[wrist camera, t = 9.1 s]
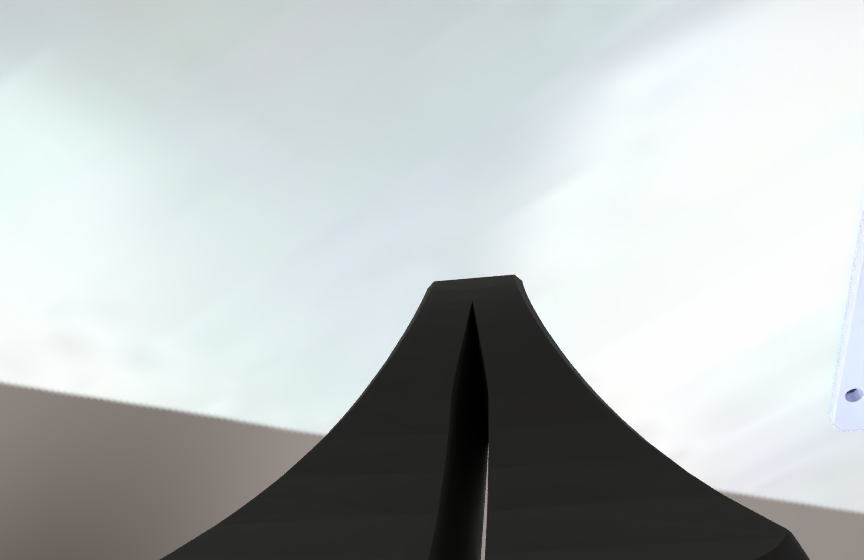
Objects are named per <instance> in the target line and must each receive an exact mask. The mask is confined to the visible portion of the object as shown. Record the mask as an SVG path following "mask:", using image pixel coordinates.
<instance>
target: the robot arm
mask: <svg viewBox="0 0 864 560" xmlns="http://www.w3.org/2000/svg"><path fill="white" fill-rule="evenodd" d="M855 388H856V390H855V391H854V392H852V393H848V394H846V393H847V392H848V391H849V390H851V389H855ZM828 416H829V420H830V422H831V423H832V425H833V426H834V428H835V429H837V430H839V431H862V430H864V208H863V214H862V220H861V225H860V231H859V237H858V243H857V249H856V255H855V261H854V266H853V272H852V278H851V284H850V290H849V296H848V302H847V307H846V313H845V319H844V325H843V331H842V337H841V343H840V348H839V354H838V360H837V366H836V372H835V378H834V384H833V389H832V395H831V401H830V407H829V413H828ZM488 443H489V448H488ZM487 459H488V461H489V462H488V504H487V528H486V548H485V549H486V550H485V560H810V559H809V558H808V556H807V555H806V553H805V552H804V550H803V549H802V547H801V546H800V544H799V543H798V541H797V540H796V539H795V537H794V535H793V534H792V533H791V532H790V531H789V530H787V529H786V528H784V527H782V526H780V525H778V524H776V523H774V522H772V521H771V520H769V519H767V518H765V517H763V516H761V515H759V514H758V513H755V512H754V511H752V510H750V509H748V508H746V507H744V506H742V505H741V504H739V503H737V502H735V501H733V500H732V499H730V498H728V497H726V496H724V495H723V494H721V493H719V492H718V491H716V490H714V489H713V488H711V487H710V486H708V485H707V484H705V483H704V482H702V481H701V480H699V479H697V478H696V477H694V476H693V475H691V474H690V473H688V472H687V471H686V470H684V469H683V468H682V467H680V466H679V465H678V464H676V463H675V462H674V461H672V460H671V459H670V458H668V457H667V456H666V455H664V454H663V453H662V452H660V451H659V450H658V449H656V448H655V447H654V446H652V445H651V444H650V443H649V442H647V441H646V440H645V439H644V438H643V437H642V436H640V435H639V434H638V433H637V432H636V431H635V430H634V429H633V428H631V427H630V426H629V425H628V424H627V423H626V422H625V421H624V420H622V419H621V418H620V417H619V416H618V415H617V414H616V413H615V412H614V411H613V410H612V409H611V408H610V407H609V406H608V405H607V404H606V403H605V402H604V401H603V400H602V399H601V398H600V397H599V396H598V394H597V393H596V392H595V391H594V390H593V389H592V388H591V387H590V386H589V385H588V383H587V382H586V381H585V380H584V379H583V377H582V376H581V375H580V374H579V373H578V372H577V370H576V369H575V368H574V367H573V366H572V364H571V363H570V362H569V360H568V359H567V358H566V356H565V355H564V354H563V353H562V351H561V350H560V348H559V347H558V345H557V344H556V343H555V341H554V340H553V338H552V337H551V335H550V334H549V333H548V331H547V330H546V328H545V327H544V325H543V323H542V322H541V320H540V318H539V317H538V315H537V313H536V312H535V310H534V308H533V306H532V304H531V302H530V300H529V298H528V296H527V294H526V292H525V289H524V286H523V283H522V280H520V279H519V278H518V277H517V276H515V275H505V276H493V277H481V278H469V279H458V280H446V281H434V282H433V283H432V284H431V286H430V287H429V288H428V289H427V291H426V294H425V296H424V298H423V300H422V302H421V304H420V306H419V308H418V310H417V311H416V313H415V315H414V317H413V319H412V320H411V322H410V324H409V326H408V327H407V329H406V331H405V333H404V334H403V336H402V337H401V339H400V340H399V342H398V344H397V345H396V347H395V348H394V350H393V351H392V353H391V355H390V356H389V358H388V359H387V361H386V362H385V364H384V365H383V366H382V368H381V369H380V370H379V372H378V373H377V375H376V376H375V377H374V379H373V380H372V381H371V383H370V384H369V385H368V387H367V388H366V389H365V391H364V392H363V393H362V395H361V396H360V397H359V398H358V400H357V401H356V402H355V403H354V405H353V406H352V407H351V408H350V409H349V411H348V412H347V413H346V414H345V415H344V416H343V417H342V419H341V420H340V421H339V422H338V423H337V424H336V425H335V426H334V427H333V428H332V430H331V431H330V432H329V433H328V434H327V435H326V436H325V437H324V438H323V439H322V440H321V441H320V442H319V443H318V444H317V445H316V446H315V447H314V448H313V449H312V450H311V451H310V452H308V453H307V454H306V455H305V456H304V457H303V458H302V459H301V460H300V461H298V462H297V464H295V465H294V466H293V467H292V468H291V469H290V470H289V471H287V472H286V473H285V474H284V475H283V476H282V477H281V478H279V479H278V480H277V481H276V482H274V483H273V484H272V485H271V486H269V487H268V488H267V489H266V490H264V491H263V492H262V493H260V494H259V495H258V496H256V497H255V498H254V499H252V500H251V501H250V502H248V503H247V504H246V505H244V506H243V507H241V508H240V509H239V510H237V511H236V512H234V513H233V514H232V515H230V516H229V517H227V518H226V519H224V520H223V521H221V522H220V523H219V524H217V525H216V526H214V527H212V528H211V529H209V530H208V531H206V532H204V533H203V534H201V535H200V536H198V537H196V538H195V539H193V540H191V541H190V542H188V543H187V544H185V545H183V546H182V547H180V548H178V549H177V550H175V551H174V552H172V553H171V554H169V555H167V556H166V557H164V558H162V559H160V560H481V547H482V532H483V518H484V503H485V489H486V473H487Z"/></svg>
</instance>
